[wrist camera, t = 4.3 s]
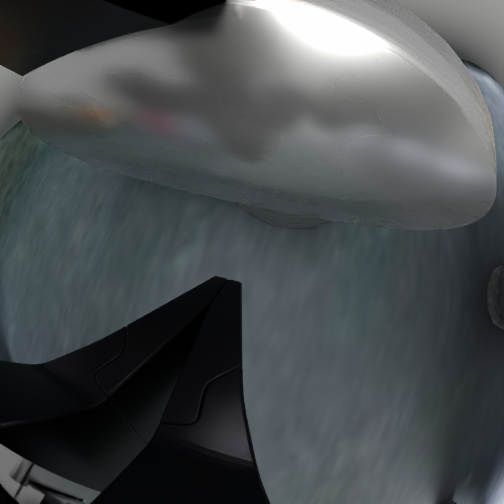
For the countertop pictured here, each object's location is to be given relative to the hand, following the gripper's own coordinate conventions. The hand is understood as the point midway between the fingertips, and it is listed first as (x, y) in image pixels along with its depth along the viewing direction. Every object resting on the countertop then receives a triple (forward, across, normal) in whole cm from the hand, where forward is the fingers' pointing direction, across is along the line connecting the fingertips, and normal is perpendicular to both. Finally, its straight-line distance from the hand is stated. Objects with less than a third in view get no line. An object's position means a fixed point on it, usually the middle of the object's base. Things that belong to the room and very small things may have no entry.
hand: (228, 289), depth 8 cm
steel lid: (0, 0, -5) cm, 5 cm away
